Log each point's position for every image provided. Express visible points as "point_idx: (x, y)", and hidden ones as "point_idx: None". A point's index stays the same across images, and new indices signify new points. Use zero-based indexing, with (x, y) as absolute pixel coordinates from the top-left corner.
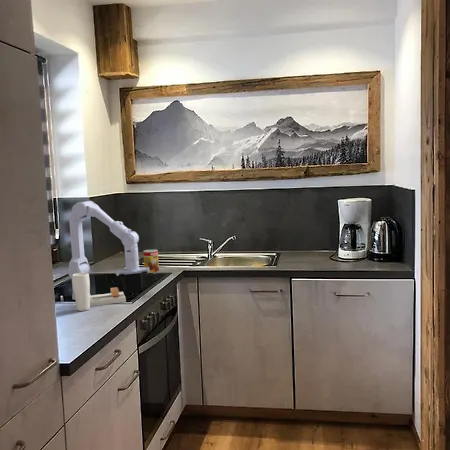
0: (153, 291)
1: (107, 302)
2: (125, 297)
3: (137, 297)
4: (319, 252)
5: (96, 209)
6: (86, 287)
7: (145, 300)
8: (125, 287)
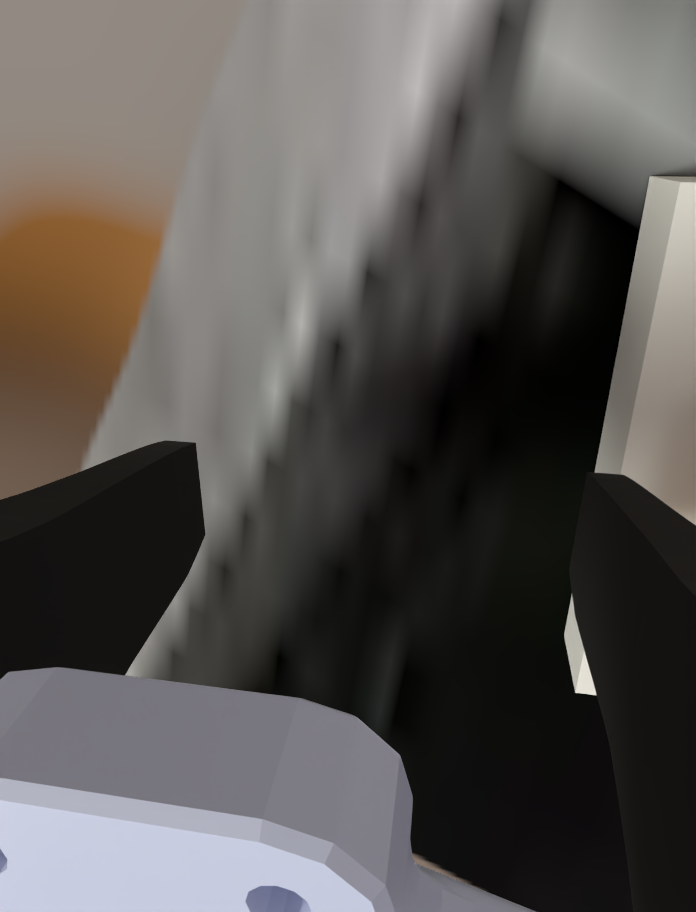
0: None
1: None
2: (683, 181)
3: (349, 421)
4: None
5: None
6: None
7: (224, 67)
8: (637, 501)
